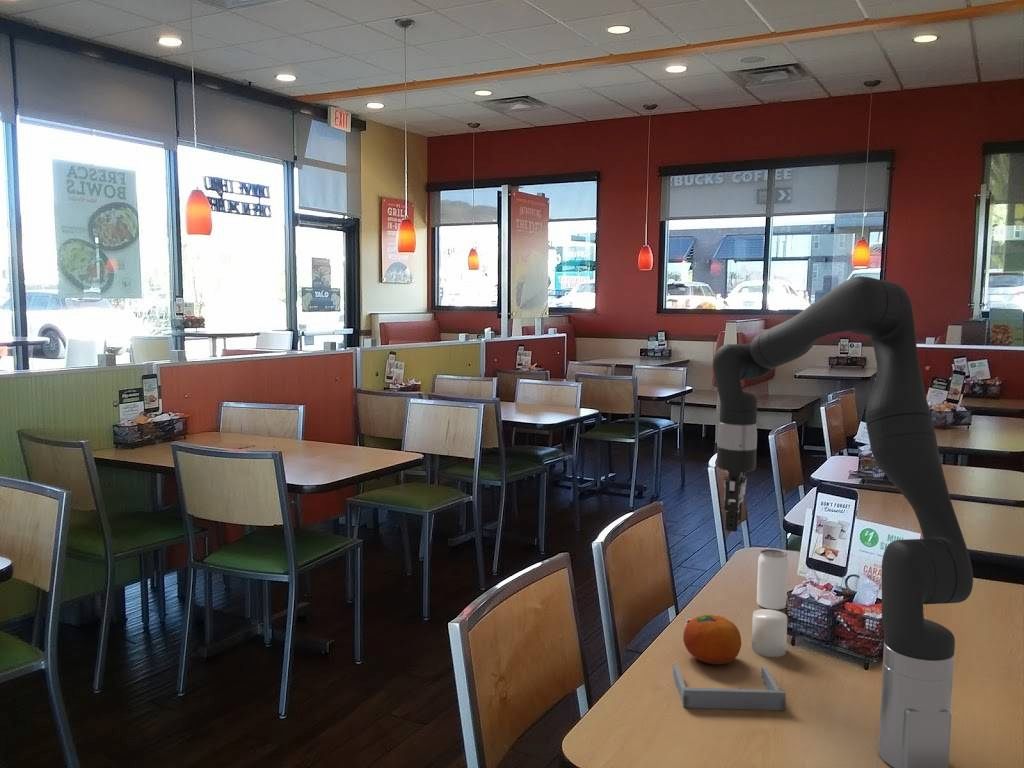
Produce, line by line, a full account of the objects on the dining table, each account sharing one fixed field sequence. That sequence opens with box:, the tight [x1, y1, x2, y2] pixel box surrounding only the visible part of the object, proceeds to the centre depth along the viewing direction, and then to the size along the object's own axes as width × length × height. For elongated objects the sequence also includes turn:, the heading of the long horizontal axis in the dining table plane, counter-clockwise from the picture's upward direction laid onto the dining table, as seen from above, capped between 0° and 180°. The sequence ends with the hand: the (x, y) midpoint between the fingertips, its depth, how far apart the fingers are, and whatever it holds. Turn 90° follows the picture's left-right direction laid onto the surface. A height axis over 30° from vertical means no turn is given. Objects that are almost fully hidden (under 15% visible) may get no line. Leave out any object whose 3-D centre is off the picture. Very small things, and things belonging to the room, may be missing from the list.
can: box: [756, 548, 790, 611], centre depth 183 cm, size 6×6×12 cm
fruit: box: [682, 614, 742, 665], centre depth 155 cm, size 11×10×8 cm
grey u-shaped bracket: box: [672, 664, 786, 711], centre depth 143 cm, size 12×17×3 cm
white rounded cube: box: [751, 608, 788, 658], centre depth 160 cm, size 6×6×7 cm
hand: (733, 525), depth 164 cm, fingers open, 8 cm apart
